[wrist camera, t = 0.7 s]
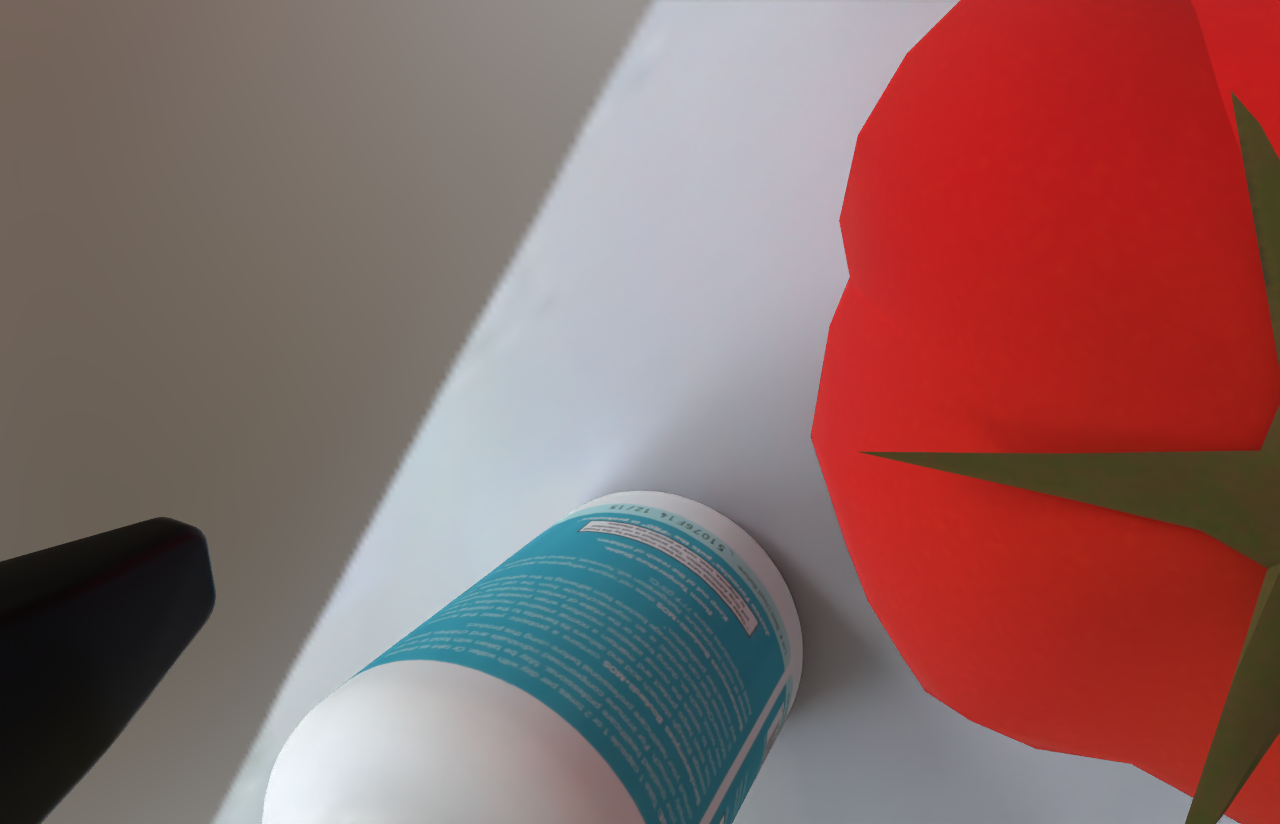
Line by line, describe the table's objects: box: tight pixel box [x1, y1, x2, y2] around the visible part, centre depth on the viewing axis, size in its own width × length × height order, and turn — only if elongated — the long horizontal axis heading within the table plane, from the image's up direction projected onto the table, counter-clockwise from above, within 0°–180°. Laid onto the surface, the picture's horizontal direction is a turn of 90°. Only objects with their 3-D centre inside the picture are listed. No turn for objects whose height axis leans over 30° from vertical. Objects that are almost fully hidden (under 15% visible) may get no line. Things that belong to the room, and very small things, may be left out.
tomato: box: [811, 0, 1280, 824], centre depth 13 cm, size 12×12×13 cm
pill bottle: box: [262, 490, 803, 824], centre depth 20 cm, size 8×7×14 cm
